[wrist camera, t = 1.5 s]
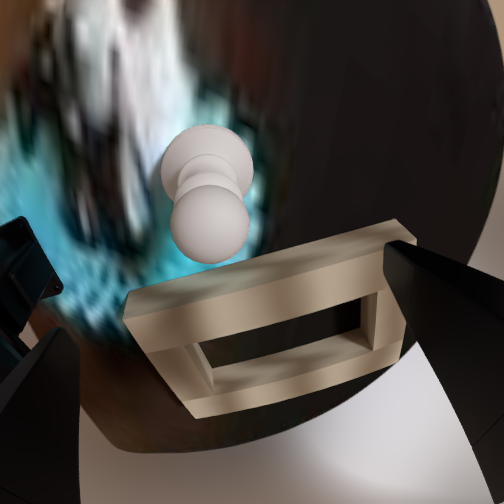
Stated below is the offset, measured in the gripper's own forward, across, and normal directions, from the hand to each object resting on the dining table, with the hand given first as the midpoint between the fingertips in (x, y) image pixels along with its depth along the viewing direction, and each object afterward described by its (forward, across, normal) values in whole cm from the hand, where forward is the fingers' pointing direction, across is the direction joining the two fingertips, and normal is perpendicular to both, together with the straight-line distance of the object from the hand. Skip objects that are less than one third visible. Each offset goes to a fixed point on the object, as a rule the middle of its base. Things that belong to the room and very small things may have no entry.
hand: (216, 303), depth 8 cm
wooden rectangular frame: (+12, -2, +14) cm, 18 cm away
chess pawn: (+12, 0, 0) cm, 12 cm away
